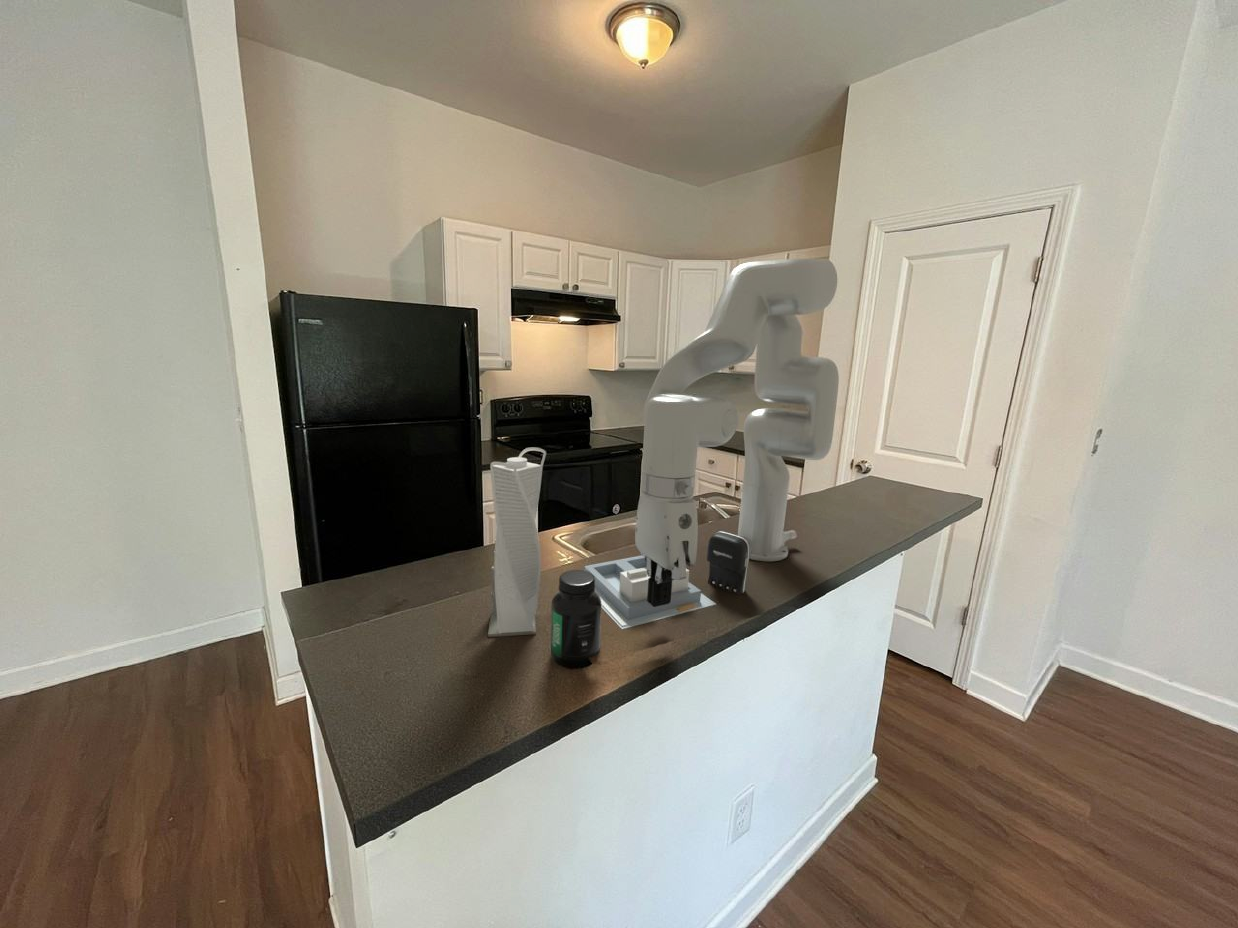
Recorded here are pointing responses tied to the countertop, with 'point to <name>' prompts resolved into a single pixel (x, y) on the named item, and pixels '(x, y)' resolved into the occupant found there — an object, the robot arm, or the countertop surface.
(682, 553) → the robot arm
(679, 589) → the tab
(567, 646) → the supplement bottle
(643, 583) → the tab
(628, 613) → the switch bank
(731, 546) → the battery charger
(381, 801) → the countertop surface
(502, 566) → the skyscraper
